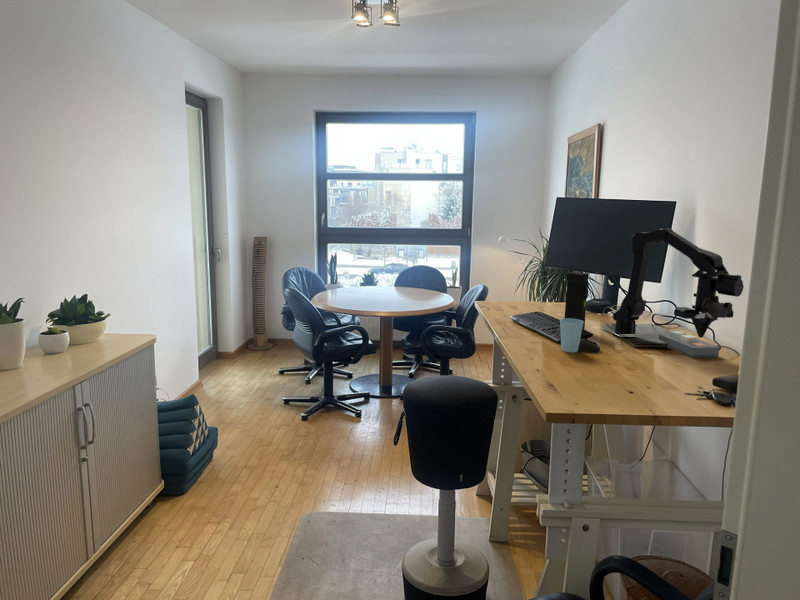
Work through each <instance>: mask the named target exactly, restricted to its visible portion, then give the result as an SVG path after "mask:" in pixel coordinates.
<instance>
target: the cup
mask: <svg viewBox="0 0 800 600" xmlns="http://www.w3.org/2000/svg"><path fill="white" fill-rule="evenodd" d="M559 322H560V323H559V326H560V347H561V348H560V349H561V351H563V352H565V353H578V352H579V346H580V341H581V337H582V332H583V330H582V328H583V323H584V322H583V321H582V320H578V319H570V318H566V319H564V318H561V319H560V320H559Z"/></svg>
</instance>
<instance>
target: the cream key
mask: <svg viewBox="0 0 800 600" xmlns="http://www.w3.org/2000/svg"><path fill="white" fill-rule="evenodd" d="M697 339H698V338H697V336H694V335H691V334H686V335H681V337H680V340H682V341H685V342H696V340H697Z"/></svg>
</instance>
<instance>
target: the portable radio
mask: <svg viewBox="0 0 800 600" xmlns="http://www.w3.org/2000/svg"><path fill="white" fill-rule="evenodd" d="M572 269H573V265H570V270H569V271H568V272H567V273H566V281H567V284H566V293H565V294H566V296H565V306H564V318H563V319H566V318H570V319H578V320H582V321H583V322H584V323H583V328H582V331H584V330H585V327H586V312H587V299H588V298H589V275H590V273H588V272H587V273H586V272H580V271H572Z"/></svg>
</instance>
